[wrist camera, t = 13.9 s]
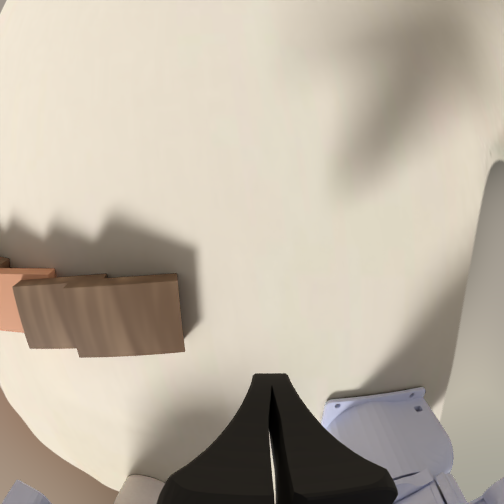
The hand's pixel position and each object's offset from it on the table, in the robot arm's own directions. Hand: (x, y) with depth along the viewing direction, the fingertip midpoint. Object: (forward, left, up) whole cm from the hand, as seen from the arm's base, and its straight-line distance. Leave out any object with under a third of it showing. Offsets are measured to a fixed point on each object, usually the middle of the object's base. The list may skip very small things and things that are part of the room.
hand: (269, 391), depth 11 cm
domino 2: (+11, 0, -8) cm, 13 cm away
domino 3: (+6, 0, -8) cm, 9 cm away
